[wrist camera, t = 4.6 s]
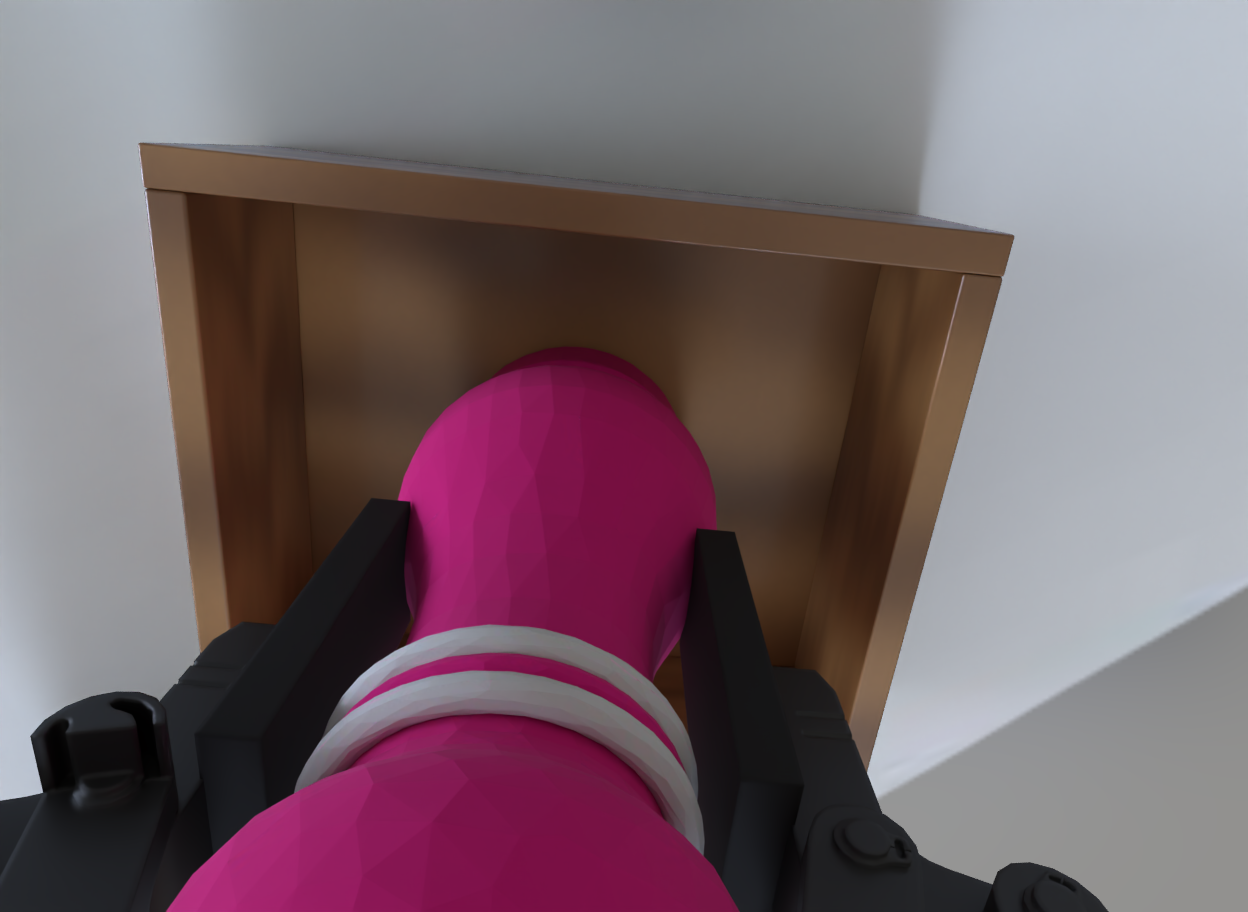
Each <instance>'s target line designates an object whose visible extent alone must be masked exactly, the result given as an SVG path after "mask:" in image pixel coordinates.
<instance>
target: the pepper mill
mask: <svg viewBox="0 0 1248 912" xmlns="http://www.w3.org/2000/svg"><path fill="white" fill-rule="evenodd" d="M398 500H399V501H410V503H411V510H410V517H409V524H408V531H407V538H406V549H405V563H404V577H405V587H406V598H407V603H408V606H409V608H410V611H411V614H412V616H413V619H414V622H413V625H412V628H411V631H410V634H409V637H408V640H407V643H406V646H405V647H402V648H400V649H398V650H396V651H394V652H393V653H391V654H390V655H388V656H386V657H385V658H383V659H382V660H380V661H378V662H377V663H375V664H374V665H373V666H372V667H370V668H369V669H368V670H367V671H366V672H364V673H363V674H362V675H361V676H360V677H359V678H358V679H357V680H356V681H355V682H354V683H353V684H352V686H351V687H350V688H349V689H348V690H347V691H346V692H345V694H344V695H343V696H342V697H341V699H340V701H339V703H338V705H337V706H336V708H335V710H334V712H333V714H332V715H331V717H330V719H329V721H328V724H327V726H326V729H325V732H324V734H323V737H322V740H321V741H320V742H319V744H318V745H317V747H316V748H315V750H314V752H313V753H312V755H311V756H310V758H309V759H308V761H307V762H306V764H305V766H304V768H303V770H302V772H301V774H300V776H299V778H298V780H297V783H296V787H295V791H294V794H292V795H290V796H289V797H287V798H285V799H284V800H282V801H280V802H278V803H277V804H275V805H273V806H271V807H270V808H268V809H266V810H264V811H263V812H261V813H259V814H258V815H256V816H254V817H253V818H252V819H251V820H250V821H249V822H248V823H247V824H246V825H245V826H244V827H243V828H242V829H241V830H239V831H238V832H237V833H236V834H235V835H234V836H233V837H232V838H231V839H230V840H229V841H228V842H227V843H226V844H225V845H223V846H222V847H221V848H220V849H219V850H218V851H217V852H216V853H215V854H214V855H213V856H212V857H211V858H210V859H209V860H207V861H206V862H205V863H204V864H203V865H202V866H201V867H200V868H199V869H198V870H197V871H196V872H195V873H194V874H193V875H192V876H191V877H190V879H189V880H188V881H187V883H186V884H185V886H184V887H183V888H182V890H181V891H180V893H179V894H178V895H177V897H176V898H175V899H174V901H173V902H172V904H171V905H170V906H169V908H168V909H167V911H166V912H740V911H739V910H738V908H737V906H736V905H735V903H734V901H733V899H732V898H731V896H730V894H729V892H728V891H727V889H726V887H725V885H724V884H723V882H722V880H721V879H720V877H719V875H718V873H717V872H716V870H715V868H714V866H713V865H712V864H711V863H710V862H709V861H708V860H707V859H706V858H705V857H704V843H705V840H704V830H703V821H702V814H701V811H700V808H699V805H698V802H697V798H698V777H697V765H696V761H695V757H694V753H693V750H692V746H691V742H690V738H689V736H688V734H687V732H686V729H685V727H684V725H683V723H682V721H681V720H680V718H679V717H678V715H677V714H676V712H675V711H674V709H673V708H672V706H671V705H670V703H669V702H668V700H667V699H666V698H665V697H664V696H663V695H662V694H661V692H660V691H659V690H658V689H657V688H656V687H655V686H654V685H653V679H654V676H655V673H656V672H657V670H658V668H659V667H660V666H661V664H662V663H663V661H664V660H665V659H666V657H667V656H668V654H669V653H670V652H671V650H672V649H673V647H674V646H675V645H676V643H677V642H678V640H679V639H680V637H681V634H682V631H683V628H684V625H685V621H686V616H687V610H688V603H689V597H690V590H691V583H692V573H693V564H694V548H695V537H696V530H697V528H700V529H710V530H717V521H716V495H715V491H714V487H713V483H712V479H711V475H710V471H709V468H708V465H707V463H706V461H705V459H704V457H703V455H702V452H701V450H700V448H699V446H698V445H697V443H696V441H695V440H694V438H693V437H692V435H691V433H690V432H689V431H688V430H687V428H686V427H685V426H684V425H683V423H682V422H681V421H680V420H679V419H678V418H677V416H676V414H675V412H674V410H673V408H672V406H671V404H670V403H669V401H668V399H667V398H666V396H665V394H664V393H663V392H662V391H661V389H660V388H659V387H658V386H657V385H656V384H655V383H654V381H653V380H652V379H650V378H649V377H648V376H647V375H645V374H644V373H643V372H642V371H640V370H639V369H638V368H636V367H635V366H634V365H633V364H631V363H629V362H627V361H625V360H624V359H621V358H619V357H617V356H615V355H612V354H610V353H606V352H603V351H599V350H596V349H591V348H584V347H567V346H565V347H556V348H547V349H544V350H541V351H537V352H534V353H531V354H528V355H525V356H523V357H521V358H519V359H517V360H515V361H513V362H511V363H509V364H508V365H506V366H504V367H503V368H502V369H501V370H499V371H498V372H497V373H495V374H494V375H493V376H492V377H491V378H490V379H489V380H487V381H485V382H484V383H482V384H480V385H478V386H476V387H474V388H473V389H471V390H469V391H468V392H466V393H465V394H464V395H463V396H461V397H460V398H459V399H457V400H456V401H455V402H454V403H452V404H451V405H450V406H448V407H447V408H446V409H445V410H444V411H443V412H442V414H441V415H440V416H439V417H438V418H437V419H436V421H435V422H434V423H433V424H432V425H431V426H430V428H429V429H428V430H427V431H426V433H425V435H424V437H423V439H422V441H421V443H420V445H419V446H418V448H417V450H416V452H415V454H414V456H413V458H412V460H411V462H410V465H409V467H408V469H407V471H406V473H405V476H404V479H403V483H402V486H401V490H400V494H399V498H398Z"/></svg>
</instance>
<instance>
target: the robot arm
mask: <svg viewBox="0 0 1248 912" xmlns="http://www.w3.org/2000/svg"><path fill="white" fill-rule="evenodd" d="M410 510H411V503H410V501H399V500H388V499H378V498H371V499H370V501H369V502H368V503H367V505H366V506H365V507H364V509H363V510H362V511H361V513H360V514H359V515H358V517H357V518H356V519H355V521H354V522H353V523H352V525H351V526H350V527H349V529H348V530H347V531H346V533H345V534H344V535H343V537H342V538H341V539H340V540H339V542H338V543H337V544H336V546H335V547H334V548H333V550H332V551H331V552H330V554H329V555H328V556H327V558H326V559H325V560H324V562H323V563H322V564H321V566H320V567H319V568H318V570H317V571H316V572H315V574H314V575H313V576H312V578H311V579H310V580H309V582H308V583H307V584H306V586H305V587H304V588H303V590H302V591H301V592H300V594H299V595H298V596H297V598H296V599H295V600H294V602H293V603H292V604H291V606H290V607H289V608H288V610H287V611H286V612H285V614H284V615H283V616H282V618H281V619H280V620H279V622H278V623H277V624H276V625H275V624H263V623H252V622H241V623H239V624H238V625H236V626H234V627H233V628H231V629H229V630H228V631H226V632H225V633H223V634H221V635H220V636H218V637H216V638H215V639H213V640H212V641H211V642H210V644H209V645H208V646H207V647H206V648H205V649H204V651H203V652H202V653H201V654H200V655H199V656H198V658H197V659H196V660H195V661H194V665H193V666H190V667H189V668H188V669H187V670H186V672H185V673H184V674H183V675H182V676H181V677H180V678H179V682H178V684H174V685H173V687H172V688H171V689H170V690H169V691H168V692H167V694H166V695H165V696H164V697H163V698H162V699H161V701H160V702H159V700H158V699H157V698H155V697H152V696H149V695H146V694H144V693H141V692H112V693H107V694H101V695H96V696H91V697H89V698H86V699H83V700H81V701H78V702H76V703H73V704H71V705H68V706H66V707H64V708H63V709H61V710H59V711H58V712H56V713H55V714H53V715H52V716H50V717H49V718H47V719H45V720H44V721H43V722H42V724H41V725H40V726H39V727H38V728H37V729H36V730H35V731H34V732H33V734H32V735H31V736H30V737H31V741H32V745H33V750H34V754H35V759H36V763H37V767H38V772H39V776H40V781H41V785H42V789H43V793H41V794H37V795H32V796H28V797H22V798H16V799H9V800H3V801H0V912H166V911H167V909H168V908H169V906H170V905H171V904H172V902H173V901H174V899H175V898H176V897H177V895H178V894H179V893H180V891H181V890H182V888H183V887H184V886H185V884H186V883H187V881H188V880H189V879H190V877H191V876H192V875H193V874H194V873H195V872H196V871H197V870H198V869H199V868H200V867H201V866H202V865H203V864H204V863H205V862H206V861H207V860H209V859H210V858H211V857H212V856H213V855H214V854H215V853H216V852H217V851H218V850H219V849H220V848H221V847H222V846H223V845H225V844H226V843H227V842H228V841H229V840H230V839H231V838H232V837H233V836H234V835H235V834H236V833H237V832H238V831H239V830H241V829H242V828H243V827H244V826H245V825H246V824H247V823H248V822H249V821H250V820H251V819H252V818H253V817H254V816H256V815H258V814H259V813H261V812H263V811H264V810H266V809H268V808H270V807H271V806H273V805H275V804H277V803H278V802H280V801H282V800H284V799H285V798H287V797H289V796H290V795H292V794H294V791H295V787H296V783H297V780H298V778H299V776H300V774H301V772H302V770H303V768H304V766H305V764H306V762H307V761H308V759H309V758H310V756H311V755H312V753H313V752H314V750H315V748H316V747H317V745H318V744H319V742H320V741H321V740H322V737H323V734H324V732H325V729H326V726H327V724H328V721H329V719H330V717H331V715H332V714H333V712H334V710H335V708H336V706H337V705H338V703H339V701H340V699H341V697H342V696H343V695H344V694H345V692H346V691H347V690H348V689H349V688H350V687H351V686H352V684H353V683H354V682H355V681H356V680H357V679H358V678H359V677H360V676H361V675H362V674H363V673H364V672H366V671H367V670H368V669H369V668H370V667H372V666H373V665H374V664H375V663H377V662H378V661H380V660H382V659H383V658H385V657H386V656H388V655H390V654H391V653H393V652H394V651H396V650H397V648H398V646H399V644H400V642H401V640H402V637H403V635H404V633H405V631H406V629H407V627H408V625H409V623H410V620H411V611H410V608H409V606H408V603H407V598H406V587H405V577H404V563H405V549H406V538H407V531H408V524H409V517H410ZM679 645H680V655H681V665H682V675H683V685H684V695H685V705H686V715H687V725H688V735H689V738H690V742H691V746H692V750H693V753H694V757H695V761H696V765H697V777H698V798H697V802H698V805H699V808H700V811H701V814H702V821H703V830H704V840H705V843H704V857H705V858H706V859H707V860H708V861H709V862H710V863H711V864H712V865H713V866H714V868H715V870H716V872H717V873H718V875H719V877H720V879H721V880H722V882H723V884H724V885H725V887H726V889H727V891H728V892H729V894H730V896H731V898H732V899H733V901H734V903H735V905H736V906H737V908H738V910H739V911H740V912H1108V911H1107V909H1106V908H1105V907H1104V906H1103V904H1102V903H1101V902H1100V900H1099V899H1098V898H1097V897H1096V896H1094V895H1093V894H1092V893H1091V892H1089V891H1088V890H1087V889H1086V888H1085V887H1083V886H1082V885H1080V883H1078V882H1077V881H1076V880H1074V879H1072V878H1070V877H1068V876H1066V875H1064V874H1062V873H1061V872H1059V871H1057V870H1055V869H1053V868H1049V867H1045V866H1042V865H1038V864H1034V863H1030V862H1029V863H1011V864H1009V865H1008V866H1006V867H1004V868H1003V869H1001V870H1000V871H998V872H997V875H996V878H995V880H994V883H993V885H992V884H989V883H986V882H983V881H981V880H978V879H975V878H972V877H969V876H967V875H964V874H961V873H958V872H955V871H952V870H950V869H947V868H944V867H942V866H940V865H938V864H935V863H933V862H931V861H929V860H927V859H926V858H924V857H922V856H921V855H919V853H918V850H917V847H916V845H915V844H914V842H913V841H912V839H911V838H910V837H909V836H908V834H907V833H906V832H905V830H904V829H903V828H902V827H901V826H899V825H898V824H897V823H895V822H894V821H893V820H891V819H890V818H889V817H887V816H886V815H884V814H882V811H881V809H880V806H879V803H878V801H877V798H876V796H875V793H874V790H873V788H872V785H871V783H870V780H869V777H868V775H867V772H866V769H865V767H864V764H863V762H862V759H861V756H860V754H859V751H858V749H857V746H856V743H855V741H854V740H852V733H851V730H850V728H849V725H848V722H847V720H845V715H844V712H843V709H842V707H841V704H840V701H839V699H838V696H837V694H836V691H835V690H834V689H833V688H832V687H831V686H830V685H829V684H828V683H827V682H826V681H825V680H824V679H823V678H822V676H821V675H820V674H819V673H818V672H817V671H816V670H810V669H798V668H787V667H776V666H772V665H771V661H770V658H769V654H768V650H767V647H766V643H765V639H764V636H763V632H762V629H761V625H760V621H759V618H758V614H757V611H756V607H755V603H754V600H753V596H752V592H751V589H750V585H749V582H748V578H747V574H746V571H745V567H744V563H743V560H742V556H741V553H740V549H739V545H738V542H737V538H736V534H735V532H732V531H721V530H710V529H700V528H697V530H696V537H695V548H694V564H693V573H692V583H691V590H690V597H689V603H688V610H687V616H686V621H685V625H684V628H683V631H682V634H681V637H680V643H679Z"/></svg>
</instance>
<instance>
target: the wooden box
mask: <svg viewBox="0 0 1248 912" xmlns="http://www.w3.org/2000/svg"><path fill="white" fill-rule="evenodd" d="M138 148H139V156H140V165H141V173H142V181H143V186H144V187H146V188H148V189H146V190H145V199H146V207H147V216H148V224H149V232H150V240H151V249H152V257H153V265H154V274H155V282H156V290H157V298H158V307H159V315H160V323H161V331H162V340H163V348H164V356H165V365H166V373H167V381H168V389H169V398H170V406H171V414H172V422H173V431H174V439H175V447H176V456H177V464H178V472H179V480H180V489H181V497H182V505H183V513H184V522H185V530H186V538H187V547H188V555H189V563H190V571H191V580H192V588H193V596H194V604H195V613H196V621H197V629H198V638H199V646H200V654H201V653H202V652H203V651H204V649H205V648H206V647H207V646H208V645H209V644H210V642H211V641H212V640H213V639H215V638H216V637H218V636H220V635H221V634H223V633H225V632H226V631H228V630H229V629H231V628H233V627H234V626H236V625H238V624H239V623H241V622H252V623H263V624H275V625H276V624H277V623H278V622H279V620H280V619H281V618H282V616H283V615H284V614H285V612H286V611H287V610H288V608H289V607H290V606H291V604H292V603H293V602H294V600H295V599H296V598H297V596H298V595H299V594H300V592H301V591H302V590H303V588H304V587H305V586H306V584H307V583H308V582H309V580H310V579H311V578H312V576H313V575H314V574H315V572H316V571H317V570H318V568H319V567H320V566H321V564H322V563H323V562H324V560H325V559H326V558H327V556H328V555H329V554H330V552H331V551H332V550H333V548H334V547H335V546H336V544H337V543H338V542H339V540H340V539H341V538H342V537H343V535H344V534H345V533H346V531H347V530H348V529H349V527H350V526H351V525H352V523H353V522H354V521H355V519H356V518H357V517H358V515H359V514H360V513H361V511H362V510H363V509H364V507H365V506H366V505H367V503H368V502H369V501H370V499H371V498H378V499H388V500H398V498H399V494H400V490H401V486H402V483H403V479H404V476H405V473H406V471H407V469H408V467H409V465H410V462H411V460H412V458H413V456H414V454H415V452H416V450H417V448H418V446H419V445H420V443H421V441H422V439H423V437H424V435H425V433H426V431H427V430H428V429H429V428H430V426H431V425H432V424H433V423H434V422H435V421H436V419H437V418H438V417H439V416H440V415H441V414H442V412H443V411H444V410H445V409H446V408H447V407H448V406H450V405H451V404H452V403H454V402H455V401H456V400H457V399H459V398H460V397H461V396H463V395H464V394H465V393H466V392H468V391H469V390H471V389H473V388H474V387H476V386H478V385H480V384H482V383H484V382H485V381H487V380H489V379H490V378H491V377H492V376H493V375H494V374H495V373H497V372H498V371H499V370H501V369H502V368H503V367H504V366H506V365H508V364H509V363H511V362H513V361H515V360H517V359H519V358H521V357H523V356H525V355H528V354H531V353H534V352H537V351H541V350H544V349H547V348H556V347H565V346H567V347H584V348H591V349H596V350H599V351H603V352H606V353H610V354H612V355H615V356H617V357H619V358H621V359H624V360H625V361H627V362H629V363H631V364H633V365H634V366H635V367H636V368H638V369H639V370H640V371H642V372H643V373H644V374H645V375H647V376H648V377H649V378H650V379H652V380H653V381H654V383H655V384H656V385H657V386H658V387H659V388H660V389H661V391H662V392H663V393H664V394H665V396H666V398H667V399H668V401H669V403H670V404H671V406H672V408H673V410H674V412H675V414H676V416H677V418H678V419H679V420H680V421H681V422H682V423H683V425H684V426H685V427H686V428H687V430H688V431H689V432H690V433H691V435H692V437H693V438H694V440H695V441H696V443H697V445H698V446H699V448H700V450H701V452H702V455H703V457H704V459H705V461H706V463H707V465H708V468H709V471H710V475H711V479H712V483H713V487H714V491H715V495H716V521H717V530H721V531H732V532H735V534H736V538H737V542H738V545H739V549H740V553H741V556H742V560H743V563H744V567H745V571H746V574H747V578H748V582H749V585H750V589H751V592H752V596H753V600H754V603H755V607H756V611H757V614H758V618H759V621H760V625H761V629H762V632H763V636H764V639H765V643H766V647H767V650H768V654H769V658H770V661H771V665H772V666H776V667H787V668H798V669H810V670H816V671H817V672H818V673H819V674H820V675H821V676H822V678H823V679H824V680H825V681H826V682H827V683H828V684H829V685H830V686H831V687H832V688H833V689H834V690H835V691H836V694H837V696H838V699H839V701H840V704H841V707H842V709H843V712H844V715H845V720H847V722H848V725H849V728H850V730H851V733H852V740H854V741H855V743H856V746H857V749H858V751H859V754H860V756H861V759H862V762H863V764H864V767H865V769H866V772H867V769H868V766H869V762H870V759H871V755H872V751H873V748H874V744H875V740H876V737H877V733H878V729H879V726H880V722H881V719H882V715H883V711H884V708H885V704H886V700H887V697H888V693H889V689H890V686H891V682H892V679H893V675H894V671H895V668H896V664H897V660H898V657H899V653H900V650H901V646H902V642H903V639H904V635H905V631H906V628H907V624H908V620H909V617H910V613H911V610H912V606H913V602H914V599H915V595H916V591H917V588H918V584H919V580H920V577H921V573H922V570H923V566H924V562H925V559H926V555H927V551H928V548H929V544H930V540H931V537H932V533H933V530H934V526H935V522H936V519H937V515H938V511H939V508H940V504H941V501H942V497H943V493H944V490H945V486H946V482H947V479H948V475H949V471H950V468H951V464H952V461H953V457H954V453H955V450H956V446H957V442H958V439H959V435H960V431H961V428H962V424H963V421H964V417H965V413H966V410H967V406H968V402H969V399H970V395H971V392H972V388H973V384H974V381H975V377H976V373H977V370H978V366H979V362H980V359H981V355H982V352H983V348H984V344H985V341H986V337H987V333H988V330H989V326H990V322H991V319H992V315H993V312H994V308H995V304H996V301H997V297H998V293H999V290H1000V286H1001V282H1002V278H1001V276H1003V275H1004V273H1005V269H1006V266H1007V262H1008V258H1009V255H1010V251H1011V247H1012V244H1013V240H1014V235H1012V234H1007V233H1002V232H997V231H993V230H988V229H983V228H978V227H973V226H968V225H964V224H959V223H954V222H949V221H944V220H940V219H935V218H930V217H925V216H921V215H913V214H904V213H895V212H885V211H876V210H866V209H857V208H847V207H838V206H828V205H819V204H810V203H800V202H791V201H781V200H772V199H762V198H753V197H744V196H734V195H725V194H715V193H706V192H696V191H687V190H678V189H668V188H659V187H649V186H640V185H630V184H621V183H612V182H602V181H593V180H583V179H574V178H564V177H555V176H546V175H536V174H527V173H517V172H508V171H498V170H489V169H479V168H470V167H461V166H451V165H442V164H432V163H423V162H413V161H404V160H395V159H385V158H376V157H366V156H357V155H347V154H338V153H329V152H319V151H310V150H300V149H291V148H281V147H272V146H255V145H216V144H178V143H139V144H138ZM413 622H414V619H413V616H412V614H411V620H410V623H409V625H408V627H407V629H406V631H405V633H404V635H403V637H402V640H401V642H400V644H399V646H398V648H397V650H398V649H400V648H402V647H405V646H406V643H407V640H408V637H409V634H410V631H411V628H412V625H413ZM679 643H680V639H679V640H678V642H677V643H676V645H675V646H674V647H673V649H672V650H671V652H670V653H669V654H668V656H667V657H666V659H665V660H664V661H663V663H662V664H661V666H660V667H659V668H658V670H657V672H656V673H655V676H654V679H653V685H654V686H655V687H656V688H657V689H658V690H659V691H660V692H661V694H662V695H663V696H664V697H665V698H666V699H667V700H668V702H669V703H670V705H671V706H672V708H673V709H674V711H675V712H676V714H677V715H678V717H679V718H680V720H681V721H682V723H683V725H684V727H685V729H686V732H687V734H688V725H687V715H686V705H685V695H684V685H683V675H682V665H681V655H680V645H679ZM688 736H689V735H688Z"/></svg>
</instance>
